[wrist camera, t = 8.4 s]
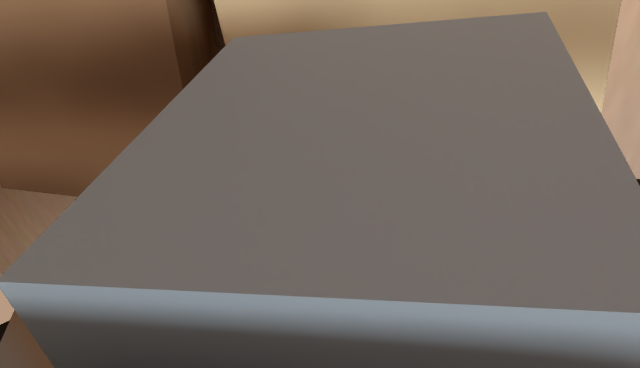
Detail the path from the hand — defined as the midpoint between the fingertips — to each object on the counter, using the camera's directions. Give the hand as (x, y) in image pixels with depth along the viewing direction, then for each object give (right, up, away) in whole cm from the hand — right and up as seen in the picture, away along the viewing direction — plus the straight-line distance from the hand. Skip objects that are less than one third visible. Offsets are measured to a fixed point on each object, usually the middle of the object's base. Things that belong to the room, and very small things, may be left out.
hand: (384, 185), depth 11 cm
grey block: (0, +1, +1) cm, 1 cm away
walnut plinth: (-10, +7, +12) cm, 17 cm away
